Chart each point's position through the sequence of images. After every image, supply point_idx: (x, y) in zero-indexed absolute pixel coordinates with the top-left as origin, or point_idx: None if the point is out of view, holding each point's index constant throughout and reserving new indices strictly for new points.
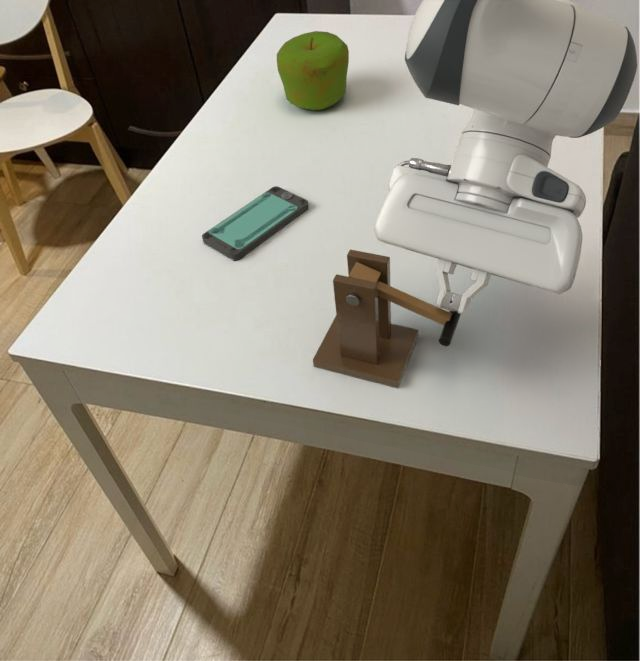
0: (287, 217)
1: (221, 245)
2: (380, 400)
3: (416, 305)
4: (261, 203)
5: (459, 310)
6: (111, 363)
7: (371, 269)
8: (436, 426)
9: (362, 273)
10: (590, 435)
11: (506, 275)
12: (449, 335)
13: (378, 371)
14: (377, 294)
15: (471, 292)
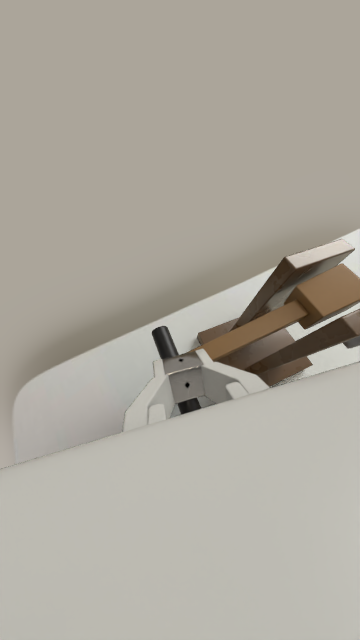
0: None
1: None
2: (198, 319)
3: (227, 334)
4: None
5: (159, 360)
6: (348, 238)
7: (340, 305)
8: (146, 327)
9: (336, 285)
10: (14, 410)
11: (30, 460)
12: (157, 336)
13: (219, 331)
14: (278, 286)
15: (149, 386)
